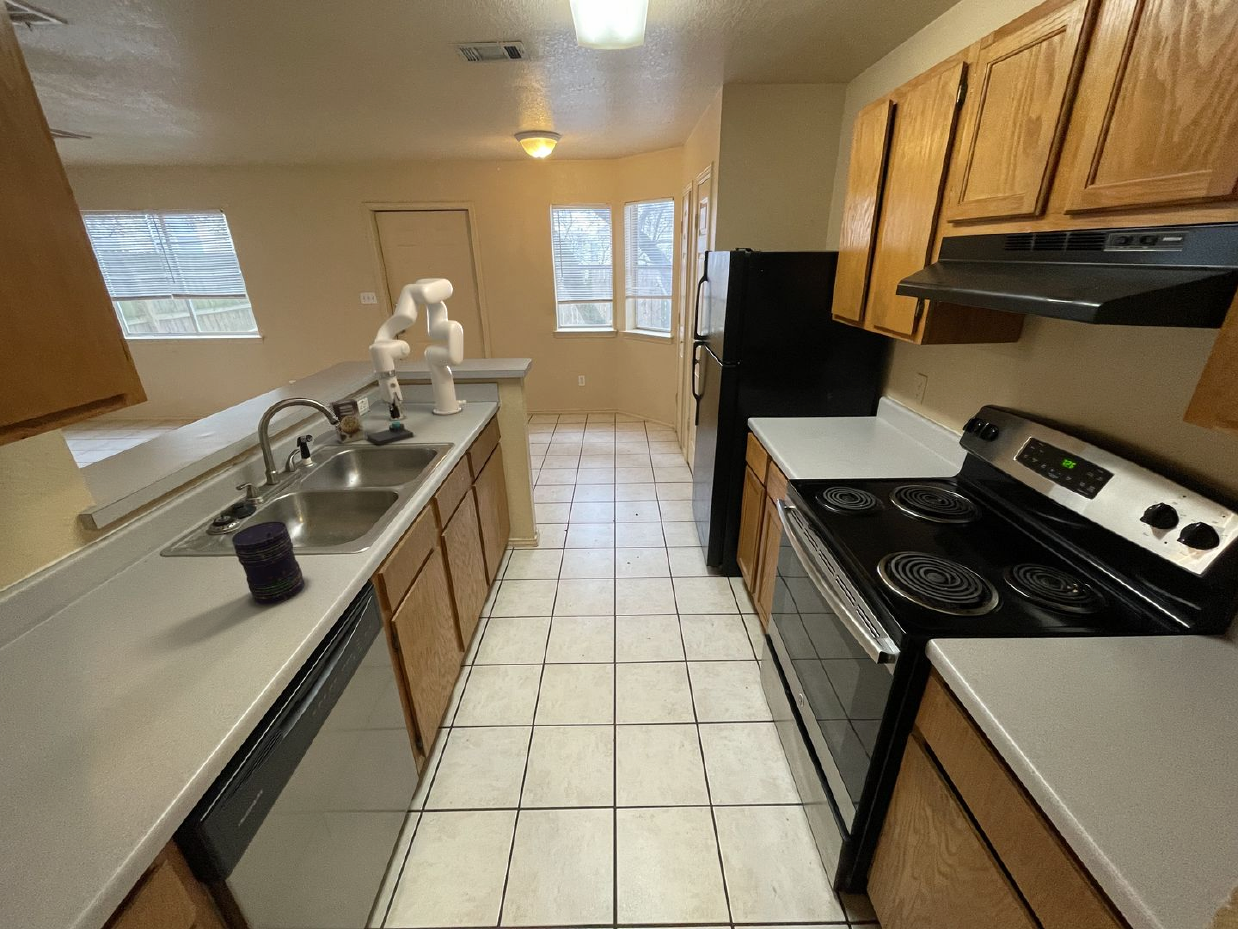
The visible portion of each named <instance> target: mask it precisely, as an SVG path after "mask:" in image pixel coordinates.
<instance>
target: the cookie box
mask: <svg viewBox="0 0 1238 929" xmlns="http://www.w3.org/2000/svg"><path fill="white" fill-rule="evenodd" d="M329 407H330V412H331V411H332V412H333V413H334V414H335V415H336V417H338V420H339V422H340V424H339V425H338V426H335V425H334V428H335V432H336V436H337V437H336V438H337V440H338V441H339V442H340V443H341V444H346V443H351V442H356V441H360V440H365V439H366V435H365V431H364V426H363V421H362V418H361V413H360V409H359V404H358V401H357V400H356V399H354V398H349V399H343V400H336V401H331V402H329ZM332 412H331V413H332Z"/></svg>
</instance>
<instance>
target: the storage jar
mask: <svg viewBox="0 0 1238 929" xmlns="http://www.w3.org/2000/svg"><path fill="white" fill-rule="evenodd" d="M231 542H232V545H233V547H234V550H235V555H236V557H237V558H238V562H239V563H240V565H241V566H242V568H243V570H244V573H245V575H246V577H245V578H246V583H247V585H248V589H249V592H250V593H251V595H252V597H253V601H254V602H255V603H256V604H257V605H260V606H270V605H276V604H280V603H283V602H285V601H288V600H290V599H292V598H294V597H296V596H297V595H298V594H300V593H301V592H302V591H303V590H304V588H305V586H306V583H305V579H304V577H303V572H302V571H303V570H302V568H301V567H300V564H299V561H298V560H297V558H296V556H295V553H294V544H293V542H292V538H291V535H290V534H289V530H288V528H287V525H286V523H285V522H283V521H277V520H276V521H275V520H274V521H264V522H259V523H256V524H253V525H250V526H248V527H245V528H243V529H241V530H240V531H238V532H237V533H235V534H233V536H232V538H231Z"/></svg>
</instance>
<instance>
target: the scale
mask: <svg viewBox="0 0 1238 929" xmlns="http://www.w3.org/2000/svg"><path fill="white" fill-rule="evenodd" d="M366 436H367V440H369V441H370V442H372V443H374V444H376V445H377V446H384V445H387V444H392V443H395V442H399V441H402V440H406V439H410V438H414V432H413V431H411V430H408V429H406V428H405V424H404V423H400V426H398V427H393V426H392V424H391V425H389V426H388V429H386V430H382V431H377V432H373V433H369V434H366Z"/></svg>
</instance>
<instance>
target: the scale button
mask: <svg viewBox="0 0 1238 929" xmlns="http://www.w3.org/2000/svg"><path fill="white" fill-rule="evenodd" d="M400 424H401V423H400V421H394V422H392V423H391V425H392V426H393V427H398V426H400Z"/></svg>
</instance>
